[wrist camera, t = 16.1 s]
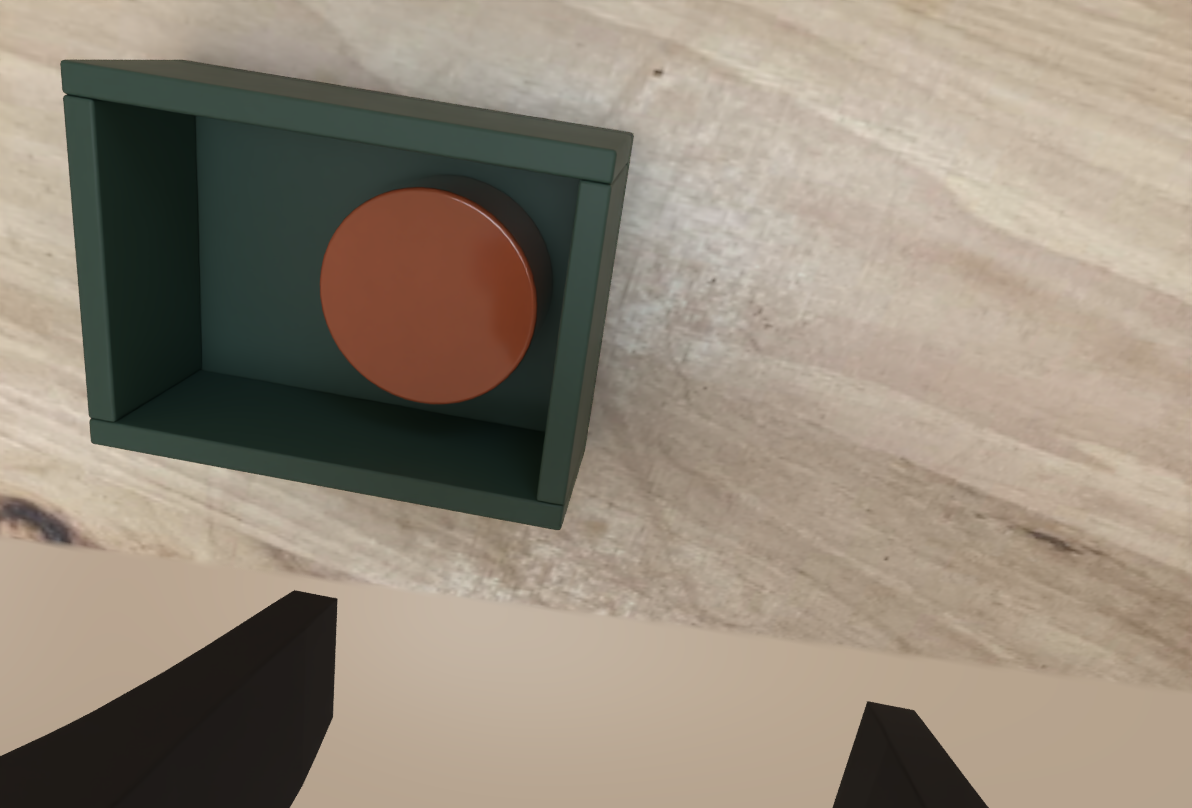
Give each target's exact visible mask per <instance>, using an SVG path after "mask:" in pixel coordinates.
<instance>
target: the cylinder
mask: <svg viewBox="0 0 1192 808" xmlns="http://www.w3.org/2000/svg"><path fill="white" fill-rule="evenodd" d="M552 293H553V273H552V266H551V261H550V256H549V253H548V250H547V247H546V244H545V242H544V240H543V238H542V236H541V234H540V231H539V230H538V228H537V227H536V225H535V224H534V222H533V221H532V219H531V218H530V217H529V215H528V214H527V213H526V212H525V211H524V210H523V208H522V207H520V206H519V205H518V204H517V203H516V202H515V201H514V200H513V199H512V198H510V197H509V196H508V195H506V194H505V193H503V192H502V191H500V190H499V189H497V188H495V187H493V186H491V185H489V184H487V183H484V182H482V181H479V180H476V179H473V178H469V177H464V176H458V175H433V176H427V177H422V178H419V179H416V180H413V181H410V182H408V183H405V184H403V185H400V186H398V187H395V188H393V189H390V190H388V191H385V192H383V193H381V194H378V195H376V196H374V197H372V198H370V199H368V200H366V201H365V202H363V203H362V204H361V205H359V206H358V207H356V208H355V209H354V210H353V211H352V212H351V213H350V214H348V215H347V216H346V217H345V218H344V220H343V221H342V222H341V223H340V225H339V226H338V227H337V229H336V230H335V232H334V234H333V235H332V237H331V239H330V241H329V243H328V246H327V248H326V251H325V254H324V257H323V262H322V266H321V274H320V298H321V304H322V310H323V314H324V317H325V320H326V324H327V326H328V328H329V331H330V333H331V335H332V338H333V339H334V341H335V343H336V344H337V346H338V348H339V350H340V351H341V352H342V354H343V355H344V356H345V358H346V359H347V360H348V361H349V363H350V364H351V365H352V366H353V367H354V368H355V369H356V370H357V371H358V372H359V373H360V374H362V375H363V376H364V377H365V378H366V379H367V380H369V381H370V382H372V383H373V384H375V385H376V386H378V387H379V388H381V389H383V390H385V391H387V392H389V393H391V394H393V395H395V396H398V397H400V398H403V399H406V400H410V401H414V402H418V403H426V404H453V403H460V402H464V401H468V400H471V399H474V398H477V397H479V396H481V395H484V394H486V393H488V392H489V391H491V390H493V389H494V388H496V387H497V386H499V385H500V384H501V383H502V382H504V381H505V380H506V379H507V378H508V377H509V376H510V375H511V374H512V373H513V372H514V371H515V370H516V368H517V367H518V366H519V364H520V363H521V361H522V360H523V358H524V357H525V355H526V354H527V352H528V350H529V349H530V347H531V345H532V344H533V342H534V340H535V339H536V337H537V335H538V334H539V332H540V330H541V328H542V326H543V324H544V322H545V320H546V318H547V315H548V312H549V309H550V305H551V300H552Z"/></svg>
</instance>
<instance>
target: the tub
mask: <svg viewBox="0 0 1192 808" xmlns="http://www.w3.org/2000/svg"><path fill="white" fill-rule="evenodd" d="M60 65H61V77H62V90H63V92H64V93H66V94H67V95H65V96H64V98H63V102H64V114H65V126H66V139H67V151H68V163H69V176H70V188H71V200H72V213H73V225H74V237H75V250H76V262H77V274H78V286H79V299H80V311H81V323H82V336H83V348H84V360H85V373H86V385H87V397H88V410H89V416H90V417H91V419H90V434H91V442H92V443H93V444H98V445H104V446H109V447H114V448H120V449H125V450H130V451H136V452H141V453H146V454H152V455H157V456H163V457H168V458H173V459H179V460H184V461H189V462H195V463H200V464H205V465H211V466H216V467H221V468H227V469H232V470H238V471H243V472H248V473H254V474H259V475H264V476H270V477H275V478H280V479H286V480H291V481H296V482H302V483H307V484H313V485H318V486H323V487H329V488H334V489H339V490H345V491H350V492H355V493H361V494H366V495H371V496H377V497H382V498H388V499H393V500H398V501H404V502H409V503H414V504H420V505H425V506H430V507H436V508H441V509H446V510H452V511H457V512H463V513H468V514H473V515H479V516H484V517H489V518H495V519H500V520H505V521H511V522H516V523H521V524H527V525H532V526H538V527H543V528H548V529H554V530H560V529H561V527H562V524H563V521H564V517H565V514H566V511H567V507H568V504H569V501H570V498H571V494H572V491H573V488H574V484H575V481H576V478H577V475H578V471H579V468H580V465H581V461H582V458H583V455H584V452H585V446H586V440H587V433H588V427H589V420H590V414H591V407H592V401H593V395H594V388H595V382H596V375H597V369H598V362H599V356H600V349H601V343H602V337H603V330H604V324H605V317H606V311H607V304H608V298H609V291H610V285H611V279H612V272H613V266H614V259H615V253H616V246H617V240H618V233H619V227H620V221H621V214H622V208H623V201H624V195H625V188H626V182H627V175H628V169H629V163H630V156H631V150H632V143H633V137H634V136H633V134H632V133H630V132H624V131H618V130H611V129H605V128H599V127H593V126H587V125H581V124H574V123H568V122H562V121H556V120H550V119H544V118H537V117H531V116H525V115H519V114H513V113H507V112H500V111H494V110H488V109H482V108H476V107H469V106H463V105H457V104H451V103H445V102H439V101H432V100H426V99H420V98H414V97H408V96H402V95H395V94H389V93H383V92H377V91H371V90H365V89H358V88H352V87H346V86H340V85H334V84H328V83H321V82H315V81H309V80H303V79H297V78H290V77H284V76H278V75H272V74H266V73H260V72H253V71H247V70H241V69H235V68H229V67H223V66H216V65H210V64H204V63H198V62H192V61H186V60H62V61H61V63H60ZM433 175H458V176H464V177H469V178H473V179H476V180H479V181H482V182H484V183H487V184H489V185H491V186H493V187H495V188H497V189H499V190H500V191H502V192H503V193H505V194H506V195H508V196H509V197H510V198H512V199H513V200H514V201H515V202H516V203H517V204H518V205H519V206H520V207H522V208H523V210H524V211H525V212H526V213H527V214H528V215H529V217H530V218H531V219H532V221H533V222H534V224H535V225H536V227H537V228H538V230H539V231H540V234H541V236H542V238H543V240H544V242H545V244H546V247H547V250H548V253H549V256H550V261H551V266H552V273H553V293H552V300H551V305H550V309H549V312H548V315H547V318H546V320H545V322H544V324H543V326H542V328H541V330H540V332H539V334H538V335H537V337H536V339H535V340H534V342H533V344H532V345H531V347H530V349H529V350H528V352H527V354H526V355H525V357H524V358H523V360H522V361H521V363H520V364H519V366H518V367H517V368H516V370H515V371H514V372H513V373H512V374H511V375H510V376H509V377H508V378H507V379H506V380H505V381H504V382H502V383H501V384H500V385H499V386H497V387H496V388H494V389H493V390H491V391H489V392H488V393H486V394H484V395H481V396H479V397H477V398H474V399H471V400H468V401H464V402H460V403H453V404H426V403H418V402H414V401H410V400H406V399H403V398H400V397H398V396H395V395H393V394H391V393H389V392H387V391H385V390H383V389H381V388H379V387H378V386H376V385H375V384H373V383H372V382H370V381H369V380H367V379H366V378H365V377H364V376H363V375H362V374H360V373H359V372H358V371H357V370H356V369H355V368H354V367H353V366H352V365H351V364H350V363H349V361H348V360H347V359H346V358H345V356H344V355H343V354H342V352H341V351H340V350H339V348H338V346H337V344H336V343H335V341H334V339H333V338H332V335H331V333H330V331H329V328H328V326H327V324H326V320H325V317H324V314H323V310H322V304H321V298H320V274H321V266H322V262H323V257H324V254H325V251H326V248H327V246H328V243H329V241H330V239H331V237H332V235H333V234H334V232H335V230H336V229H337V227H338V226H339V225H340V223H341V222H342V221H343V220H344V218H345V217H346V216H347V215H348V214H350V213H351V212H352V211H353V210H354V209H355V208H356V207H358V206H359V205H361V204H362V203H363V202H365V201H366V200H368V199H370V198H372V197H374V196H376V195H378V194H381V193H383V192H385V191H388V190H390V189H393V188H395V187H398V186H400V185H403V184H405V183H408V182H410V181H413V180H416V179H419V178H422V177H427V176H433Z"/></svg>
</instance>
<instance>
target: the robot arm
mask: <svg viewBox="0 0 1192 808" xmlns="http://www.w3.org/2000/svg"><path fill="white" fill-rule="evenodd" d="M336 622H337V598H331V597H326V596H320V595H316V594H311V593H306V592H301V591H295V590H294V591H292V592H291V593H289V594H288V595H286V596H284V597H283V598H281V599H279V600H278V601H276V602H275V603H273V604H271V605H270V606H268V607H267V608H265V609H264V610H262V611H260V612H259V613H257V614H256V615H254V616H253V617H251V618H250V619H248V620H247V621H245V622H243V623H242V624H240V625H239V626H237V627H235V628H234V629H232V630H231V631H229V632H228V633H226V634H224V635H223V636H221V637H220V638H218V639H217V640H215V641H214V642H212V643H210V644H209V645H207V646H205V647H204V648H202V649H201V650H199V651H197V652H196V653H194V654H192V655H191V656H189V657H188V658H186V659H184V660H183V661H181V662H179V663H178V664H176V665H174V666H173V667H171V668H170V669H168V670H166V671H165V672H163V673H161V674H159V675H158V676H156V677H154V678H152V679H150V680H148V681H147V682H145V683H143V684H142V685H140V686H138V687H136V688H134V689H133V690H131V691H129V692H127V693H126V694H123V695H122V696H120V697H118V698H116V699H115V700H113V701H111V702H109V703H107V704H106V705H104V706H102V707H100V708H98V709H97V710H95V711H93V712H91V713H89V714H87V715H85V716H83V717H81V718H80V719H78V720H76V721H74V722H72V723H70V724H68V725H66V726H64V727H62V728H59V729H57V730H55V731H54V732H51V733H49V734H47V735H45V736H43V737H41V738H39V739H37V740H35V741H32V742H30V743H28V744H26V745H24V746H21V747H19V748H17V749H15V750H13V751H11V752H8V753H6V754H4V755H2V756H0V808H290V806H291V805H292V803H293V801H294V799H295V797H296V796H297V794H298V792H299V791H300V789H301V787H302V785H303V783H304V781H305V779H306V777H307V775H308V772H309V770H310V768H311V766H312V764H313V761H314V759H315V757H316V755H317V753H318V750H319V748H320V746H321V743H322V741H323V739H324V736H325V734H326V732H327V729H328V727H329V725H330V723H331V720H332V718H333V699H334V674H335V646H336ZM833 808H988V806H987V805H986V804H985V802H984V801H983V800H982V799H981V797H980V796H979V795H978V793H977V792H976V791H975V790H974V788H973V787H972V786H971V784H970V783H969V782H968V780H967V779H966V778H965V776H964V775H963V774H962V773H961V771H960V770H959V768H958V767H957V766H956V764H955V763H954V762H953V760H952V759H951V758H950V757H949V755H948V754H947V753H946V751H945V750H944V749H943V747H942V746H941V745H940V743H939V742H938V741H937V739H936V738H935V737H934V735H933V734H932V733H931V731H930V730H929V729H928V727H927V726H926V725H925V723H924V722H923V721H922V720H921V718H920V717H919V716H918V715H917V713H916V712H915V711H914V710H910V709H905V708H900V707H894V706H889V705H884V704H879V703H874V702H867V704H866V707H865V710H864V713H863V717H862V720H861V723H860V726H859V729H858V732H857V735H856V738H855V741H854V744H853V747H852V750H851V753H850V756H849V759H848V762H847V766H846V768H845V772H844V775H843V777H842V780H841V784H840V787H839V790H838V793H837V796H836V799H835V802H834V805H833Z"/></svg>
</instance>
